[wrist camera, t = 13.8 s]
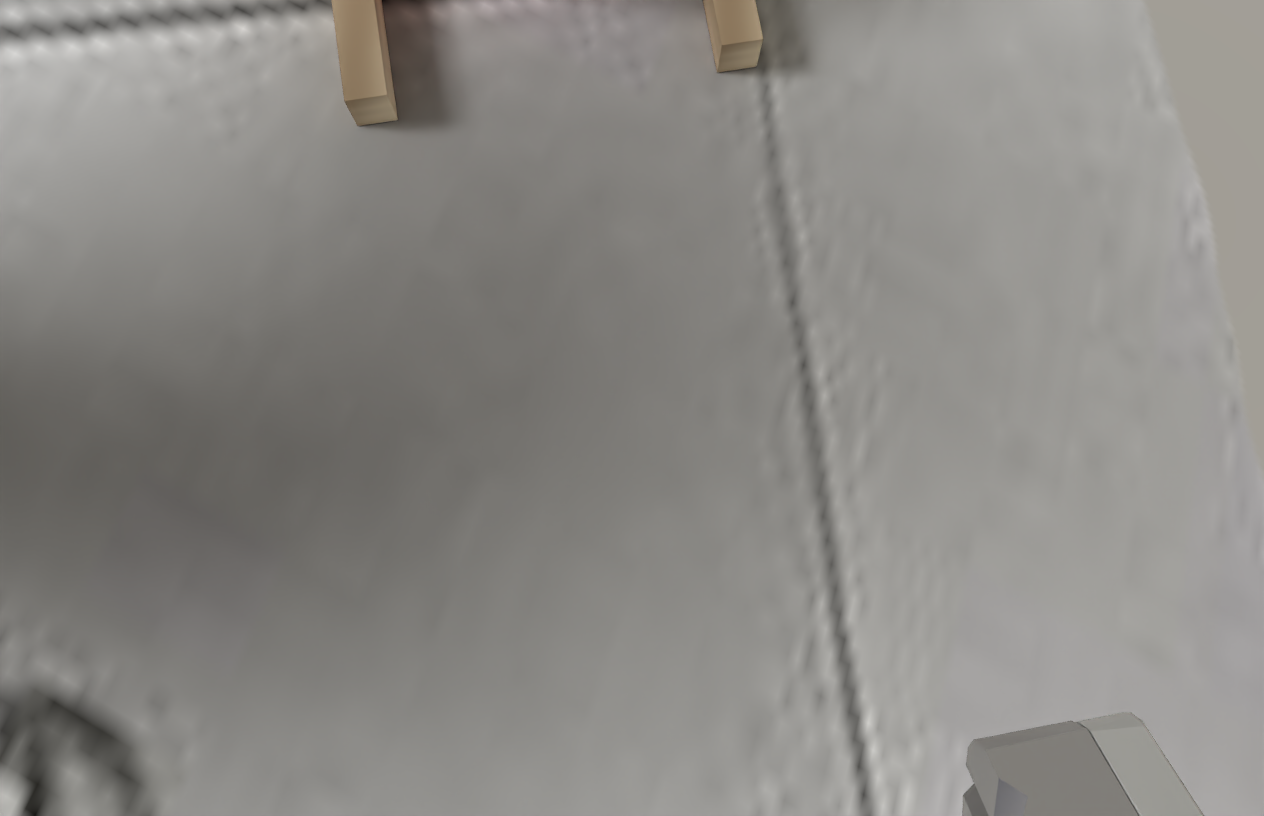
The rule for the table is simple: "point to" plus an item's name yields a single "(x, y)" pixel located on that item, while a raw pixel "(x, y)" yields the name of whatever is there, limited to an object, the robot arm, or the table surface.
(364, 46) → the bay
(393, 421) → the table surface
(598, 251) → the table surface
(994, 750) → the robot arm
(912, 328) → the table surface
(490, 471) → the table surface
